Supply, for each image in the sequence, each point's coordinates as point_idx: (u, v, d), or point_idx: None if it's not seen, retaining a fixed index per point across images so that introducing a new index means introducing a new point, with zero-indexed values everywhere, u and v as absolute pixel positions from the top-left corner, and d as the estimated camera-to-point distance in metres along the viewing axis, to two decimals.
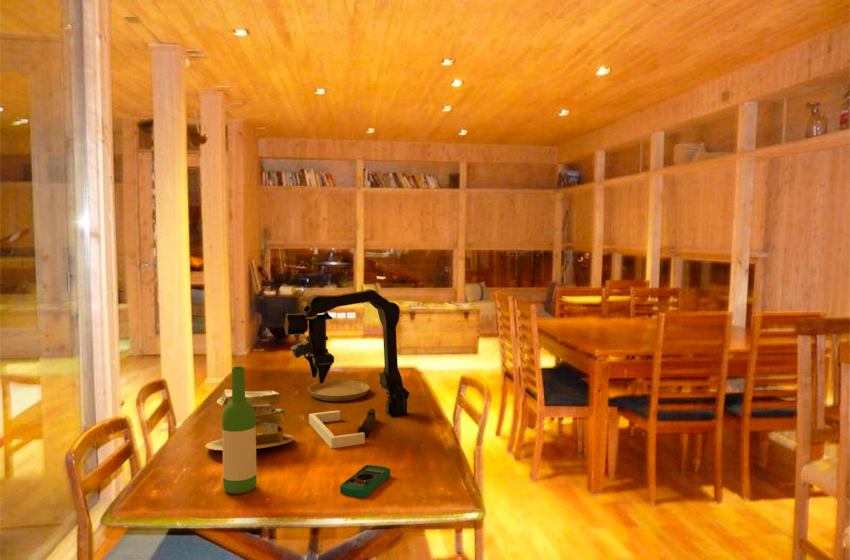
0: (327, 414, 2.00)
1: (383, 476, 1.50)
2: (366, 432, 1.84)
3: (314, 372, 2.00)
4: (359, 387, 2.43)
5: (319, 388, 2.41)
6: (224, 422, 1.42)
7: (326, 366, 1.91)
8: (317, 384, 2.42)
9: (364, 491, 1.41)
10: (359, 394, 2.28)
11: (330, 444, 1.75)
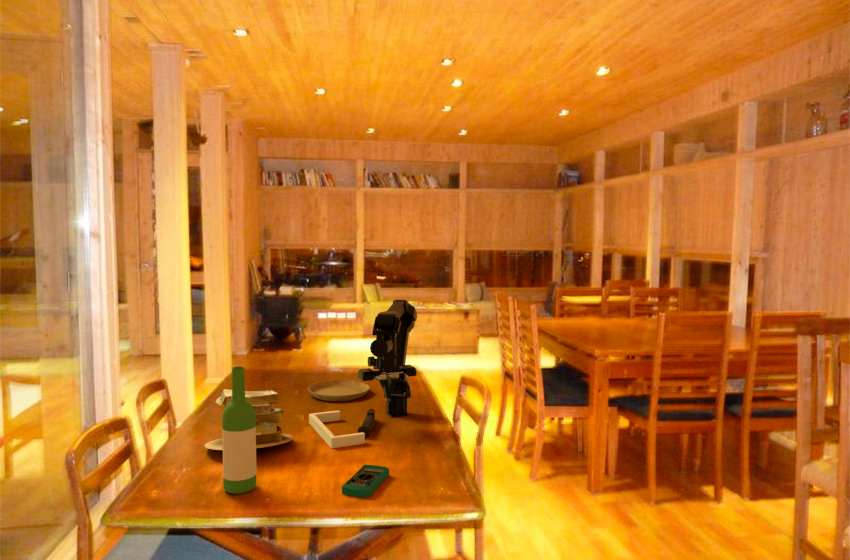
0: (327, 414, 2.00)
1: (383, 475, 1.50)
2: (366, 432, 1.84)
3: None
4: (359, 387, 2.43)
5: (319, 388, 2.41)
6: (224, 422, 1.42)
7: None
8: (317, 384, 2.42)
9: (367, 491, 1.41)
10: (359, 394, 2.28)
11: (330, 444, 1.75)
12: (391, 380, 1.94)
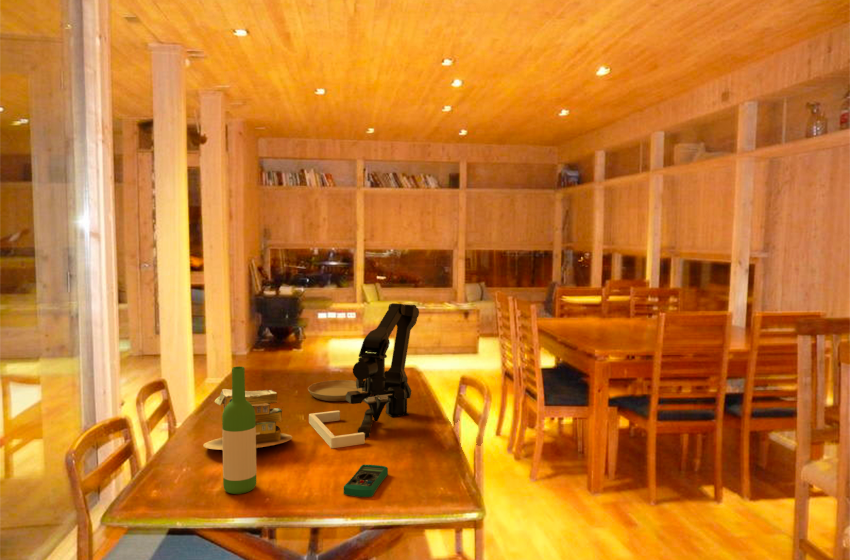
0: (327, 414, 2.00)
1: (382, 474, 1.51)
2: (366, 432, 1.84)
3: None
4: None
5: (319, 388, 2.41)
6: (224, 422, 1.42)
7: None
8: (317, 384, 2.42)
9: (369, 490, 1.41)
10: None
11: (330, 444, 1.75)
12: (379, 402, 1.92)
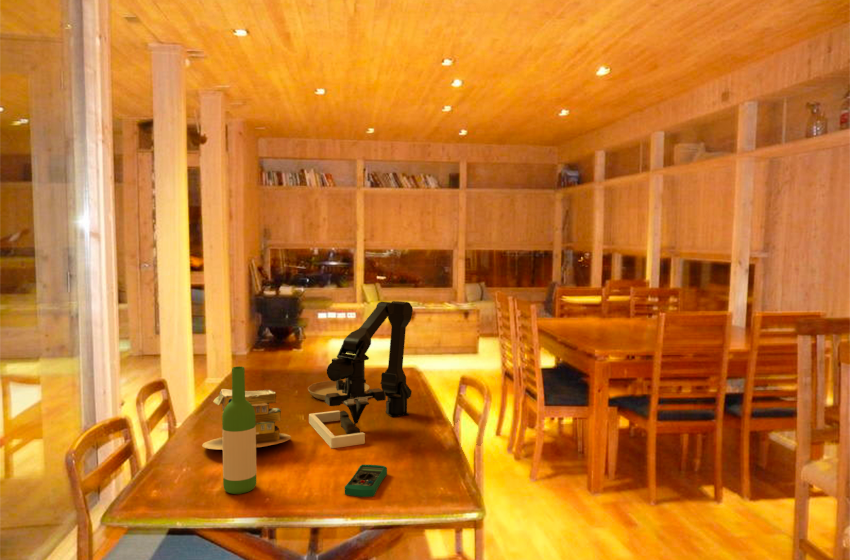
0: (327, 414, 2.00)
1: (382, 474, 1.51)
2: None
3: None
4: None
5: (319, 388, 2.41)
6: (224, 422, 1.42)
7: None
8: (317, 384, 2.42)
9: (371, 490, 1.41)
10: None
11: (330, 444, 1.75)
12: (359, 405, 1.89)
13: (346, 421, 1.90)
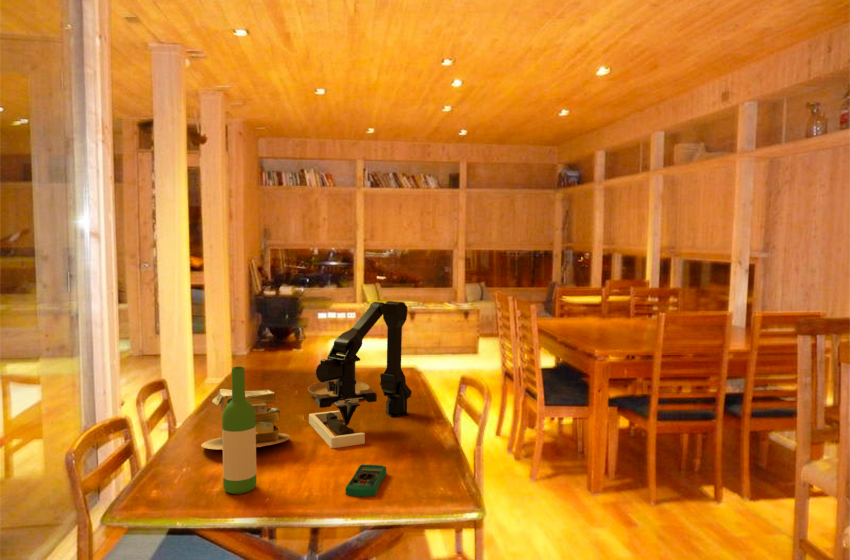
0: None
1: (382, 474, 1.51)
2: None
3: None
4: (359, 387, 2.43)
5: (319, 388, 2.41)
6: (224, 422, 1.42)
7: None
8: (317, 384, 2.42)
9: (372, 490, 1.42)
10: None
11: (330, 444, 1.75)
12: (350, 406, 1.88)
13: (337, 422, 1.88)
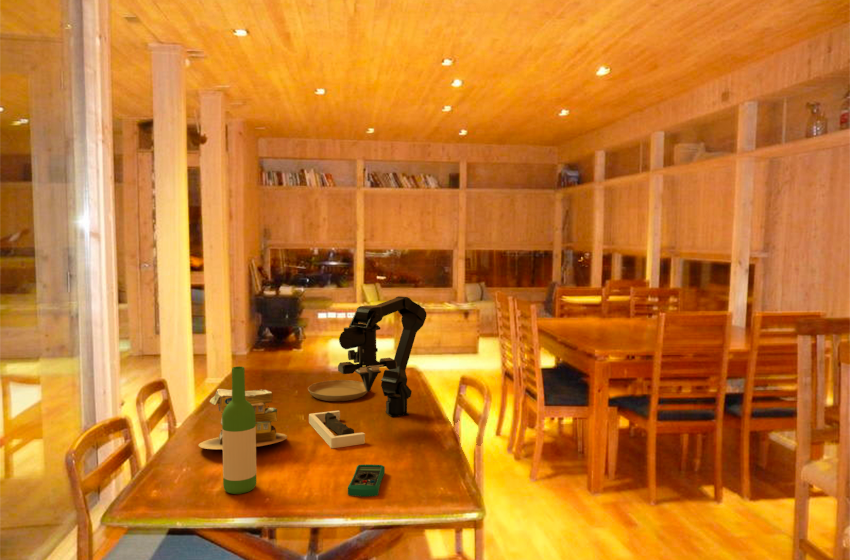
0: None
1: (382, 473, 1.51)
2: None
3: None
4: (359, 387, 2.43)
5: (319, 388, 2.41)
6: (224, 422, 1.42)
7: None
8: (317, 384, 2.42)
9: (375, 490, 1.42)
10: (359, 394, 2.28)
11: (330, 444, 1.75)
12: (371, 373, 1.95)
13: (336, 422, 1.88)
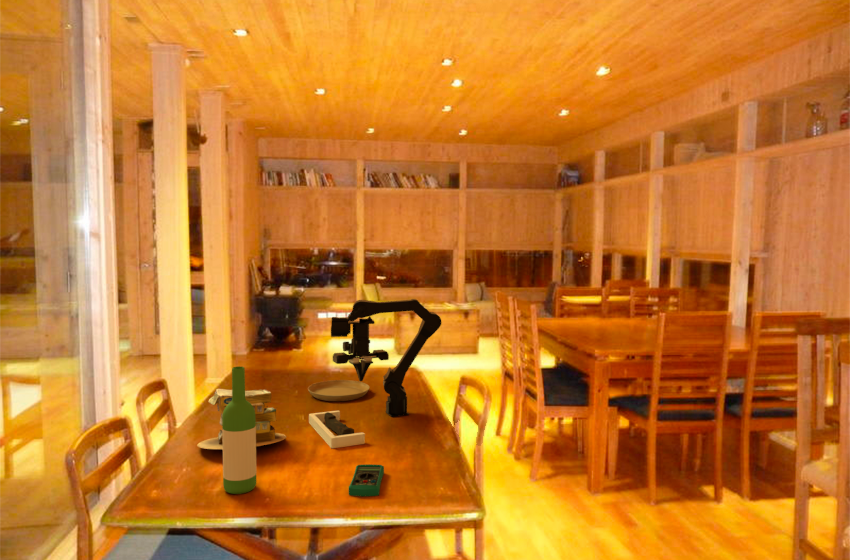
0: None
1: (381, 473, 1.52)
2: None
3: None
4: (359, 387, 2.43)
5: (319, 388, 2.41)
6: (224, 422, 1.42)
7: None
8: (317, 384, 2.42)
9: (376, 489, 1.42)
10: (359, 394, 2.28)
11: (330, 444, 1.75)
12: (364, 363, 2.05)
13: (336, 422, 1.88)
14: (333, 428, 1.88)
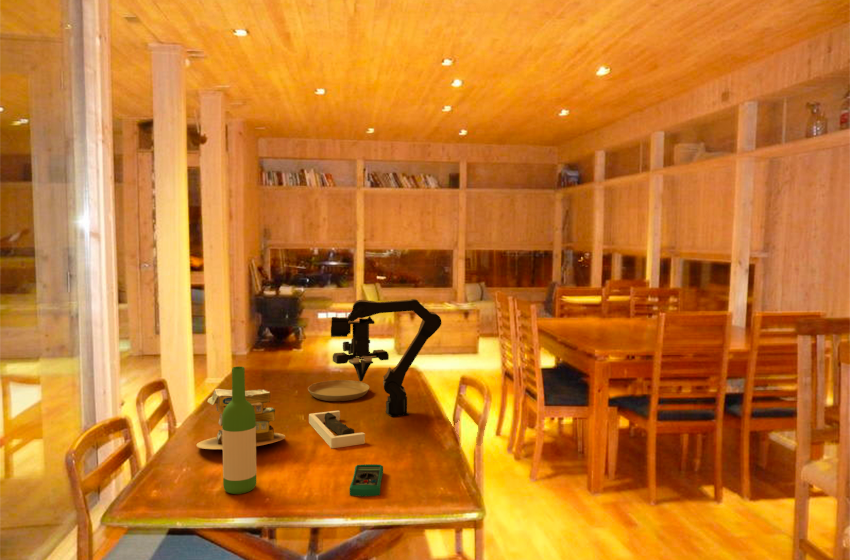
0: None
1: (381, 473, 1.52)
2: None
3: None
4: (359, 387, 2.43)
5: (319, 388, 2.41)
6: (224, 422, 1.42)
7: None
8: (317, 384, 2.42)
9: (377, 489, 1.42)
10: (359, 394, 2.28)
11: (330, 444, 1.75)
12: (364, 363, 2.05)
13: (336, 423, 1.88)
14: (333, 428, 1.88)
